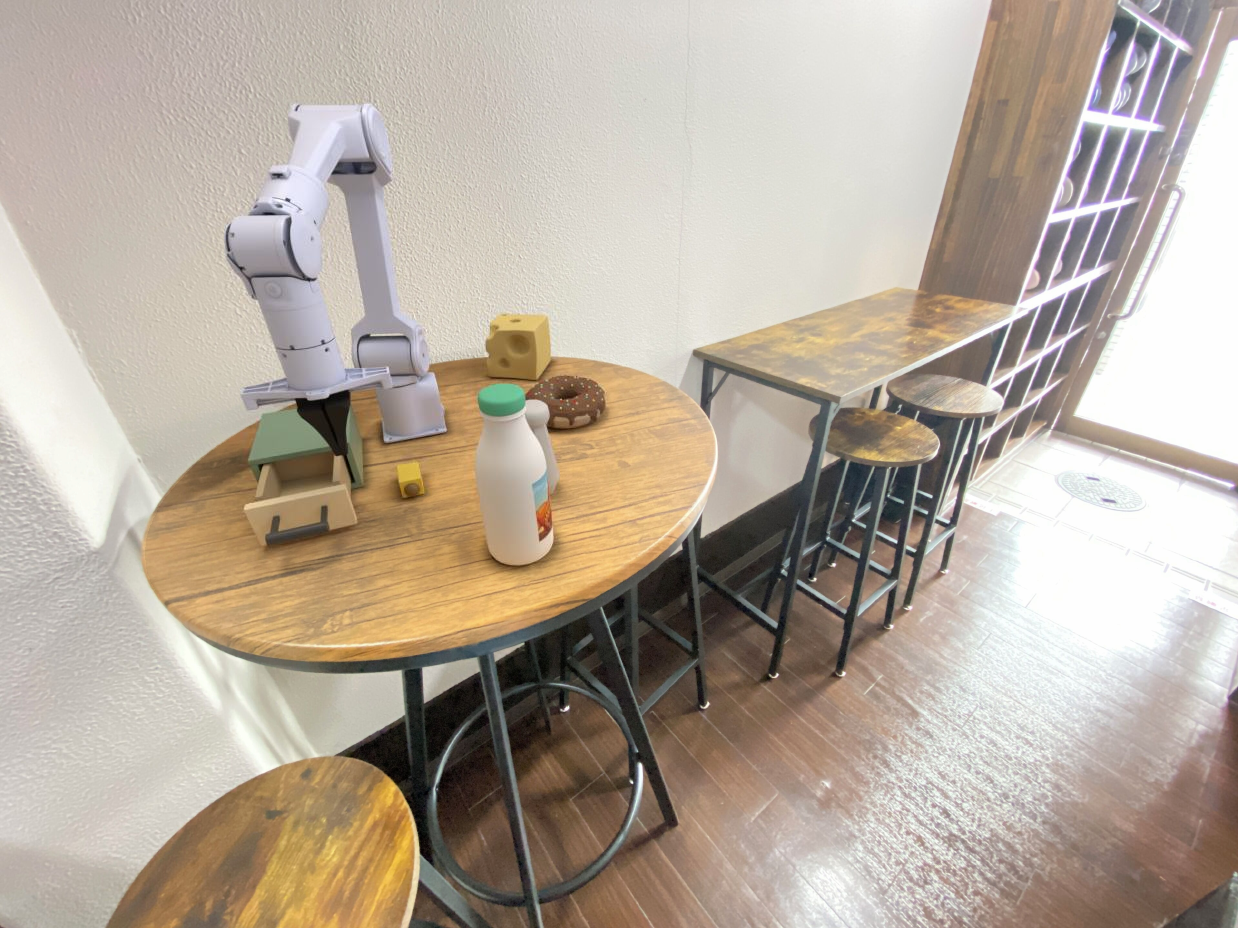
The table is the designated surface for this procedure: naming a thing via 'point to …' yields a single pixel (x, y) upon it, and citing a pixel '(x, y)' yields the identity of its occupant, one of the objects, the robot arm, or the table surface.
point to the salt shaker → (543, 437)
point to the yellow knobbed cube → (410, 480)
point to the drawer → (301, 498)
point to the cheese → (518, 346)
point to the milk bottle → (512, 479)
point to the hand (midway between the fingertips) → (341, 451)
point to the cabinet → (301, 442)
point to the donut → (569, 400)
